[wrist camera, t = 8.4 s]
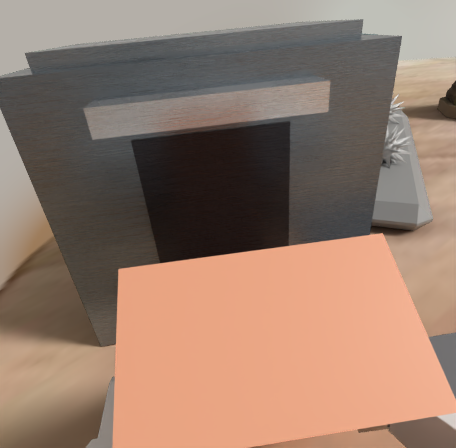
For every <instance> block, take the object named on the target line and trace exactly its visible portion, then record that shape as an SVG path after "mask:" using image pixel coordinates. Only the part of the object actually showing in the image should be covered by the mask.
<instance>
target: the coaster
mask: <svg viewBox="0 0 456 448" xmlns="http://www.w3.org/2000/svg"><path fill="white" fill-rule="evenodd" d="M429 340H430V342H431V344H432V347H433V349H434V351H435V353H436V356H437V358H438V360H439V363H440V365H441V367H442V369H443V372H444V374H445V376H446V378H447V381H448V383H449V385H450V388H451V390H452V392H453V394H454V397H455V399H456V333H451V334H445V335H439V336H433V337H429Z"/></svg>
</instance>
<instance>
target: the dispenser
mask: <svg viewBox="0 0 456 448" xmlns="http://www.w3.org/2000/svg"><path fill="white" fill-rule="evenodd" d="M362 26H363V19H360V20H336V21H312V22H296V23H286V24H276V25H267V26H256V27H246V28H236V29H226V30H215V31H205V32H195V33H186V34H175V35H165V36H155V37H145V38H136V39H125V40H115V41H105V42H95V43H84V44H76V45H70V46H64V47H59V48H52V49H46V50H41V51H35V52H29V53H25V55H26V58H27V61H28V64H29V67H30V68H27V69H24V70H20V71H16V72H13V73H9V74H5V75H2V76H0V109H1V111H2V114H3V116H4V118H5V120H6V123H7V125H8V127H9V130H10V132H11V135H12V137H13V140H14V142H15V144H16V146H17V149H18V151H19V154H20V156H21V158H22V161H23V163H24V166H25V168H26V170H27V173H28V175H29V177H30V180H31V182H32V184H33V187H34V189H35V192H36V194H37V196H38V198H39V201H40V203H41V206H42V208H43V211H44V213H45V215H46V218H47V220H48V222H49V224H50V227H51V229H52V232H53V234H54V237H55V239H56V241H57V244H58V246H59V248H60V251H61V253H62V255H63V258H64V260H65V263H66V265H67V267H68V270H69V272H70V274H71V277H72V279H73V281H74V284H75V286H76V289H77V291H78V293H79V296H80V298H81V300H82V303H83V305H84V307H85V310H86V312H87V315H88V317H89V319H90V322H91V324H92V326H93V329H94V331H95V333H96V336H97V338H98V341H99V343H100V345H101V346H107V345H113V344H116V328H117V298H118V269H122V268H130V267H137V266H144V265H152V264H159V263H167V262H174V261H181V260H189V259H196V258H203V257H211V256H218V255H226V254H233V253H240V252H248V251H255V250H263V249H270V248H277V247H285V246H292V245H300V244H307V243H314V242H322V241H329V240H337V239H344V238H351V237H359V236H366V235H370V229H371V223H372V217H373V211H374V205H375V199H376V193H377V187H378V180H379V174H380V168H381V162H382V156H383V150H384V144H385V138H386V131H387V125H388V119H389V113H390V107H391V101H392V95H393V88H394V82H395V76H396V70H397V64H398V58H399V52H400V46H401V39H402V36H388V35H363V34H362Z"/></svg>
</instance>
